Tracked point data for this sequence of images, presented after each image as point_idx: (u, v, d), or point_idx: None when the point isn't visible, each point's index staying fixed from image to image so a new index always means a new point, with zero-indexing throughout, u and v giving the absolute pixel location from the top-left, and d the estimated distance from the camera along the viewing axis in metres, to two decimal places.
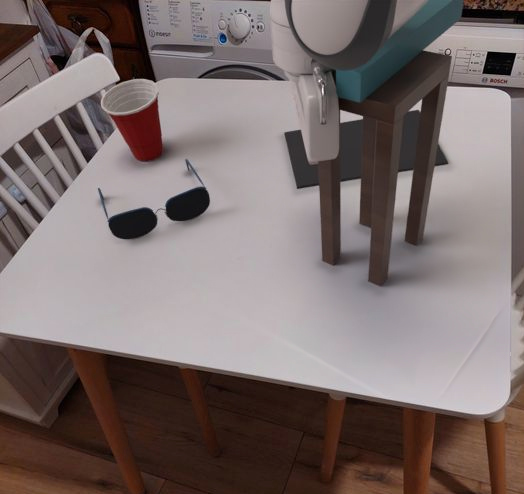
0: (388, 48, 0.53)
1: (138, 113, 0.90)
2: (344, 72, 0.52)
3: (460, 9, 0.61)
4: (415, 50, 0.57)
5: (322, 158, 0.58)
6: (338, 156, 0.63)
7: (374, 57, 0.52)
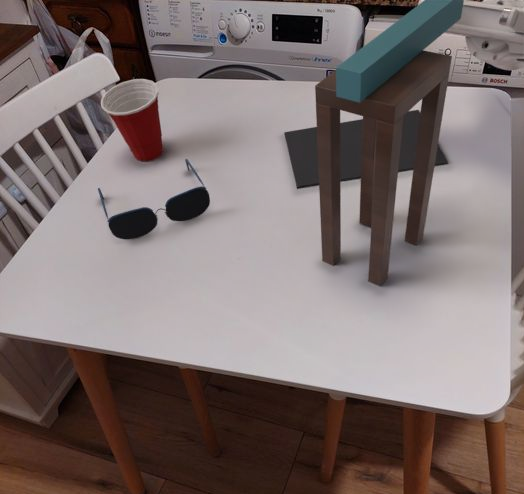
0: (388, 48, 0.53)
1: (138, 113, 0.90)
2: (344, 72, 0.52)
3: (460, 9, 0.61)
4: (415, 50, 0.57)
5: None
6: (338, 156, 0.63)
7: (374, 57, 0.52)
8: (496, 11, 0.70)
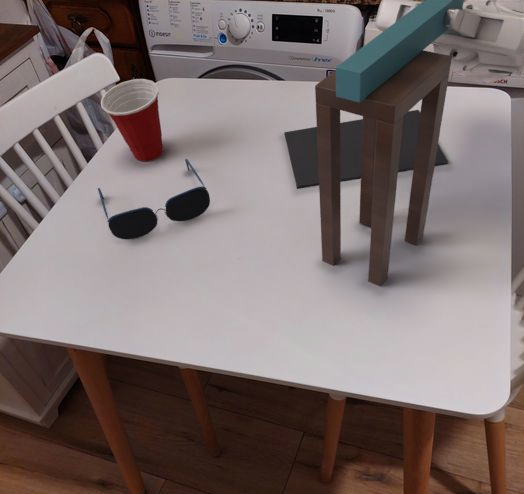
0: (388, 48, 0.53)
1: (138, 113, 0.90)
2: (344, 72, 0.52)
3: (460, 9, 0.61)
4: (415, 50, 0.57)
5: (377, 13, 0.68)
6: (338, 156, 0.63)
7: (374, 57, 0.52)
8: None
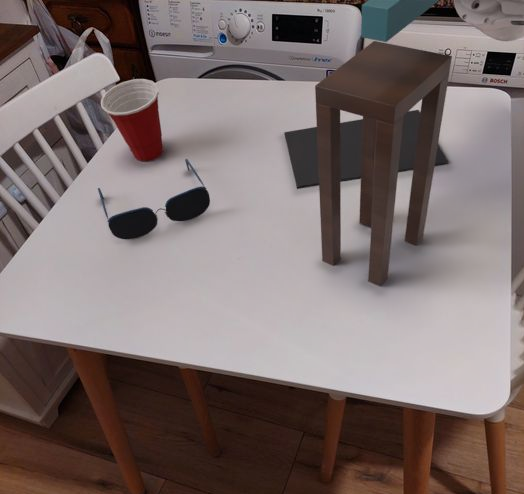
0: None
1: (138, 113, 0.90)
2: (370, 9, 0.50)
3: None
4: None
5: None
6: (338, 156, 0.63)
7: None
8: None
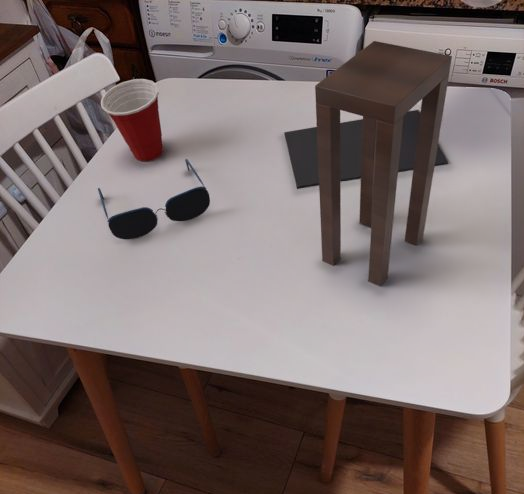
0: None
1: (138, 113, 0.90)
2: None
3: None
4: None
5: None
6: (338, 156, 0.63)
7: None
8: None
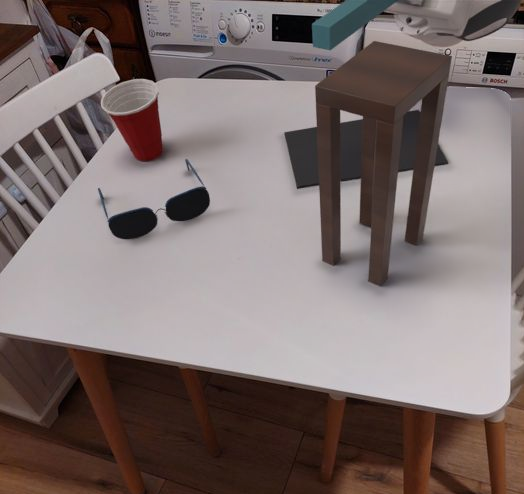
0: (351, 10, 0.72)
1: (138, 113, 0.90)
2: (318, 27, 0.70)
3: None
4: (373, 13, 0.75)
5: None
6: (338, 156, 0.63)
7: (340, 16, 0.71)
8: None
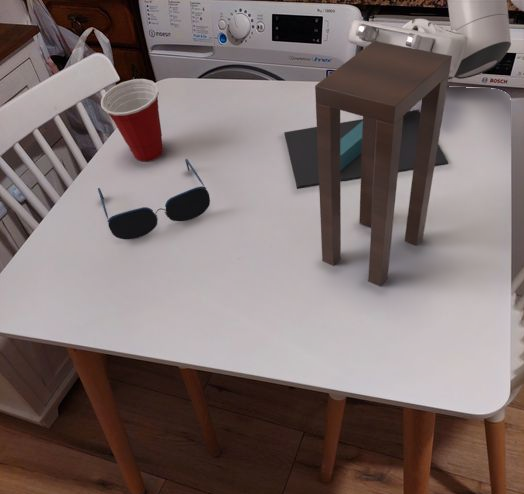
0: (352, 144, 0.89)
1: (138, 113, 0.90)
2: None
3: None
4: None
5: None
6: (338, 156, 0.63)
7: (343, 150, 0.88)
8: (408, 35, 0.86)
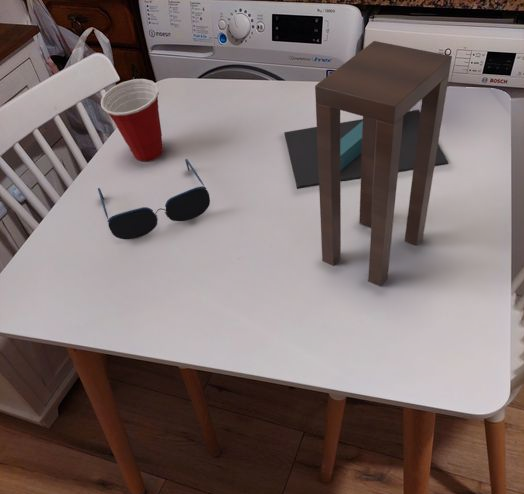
0: (352, 144, 0.89)
1: (138, 113, 0.90)
2: None
3: None
4: None
5: None
6: (338, 156, 0.63)
7: (343, 150, 0.88)
8: None
